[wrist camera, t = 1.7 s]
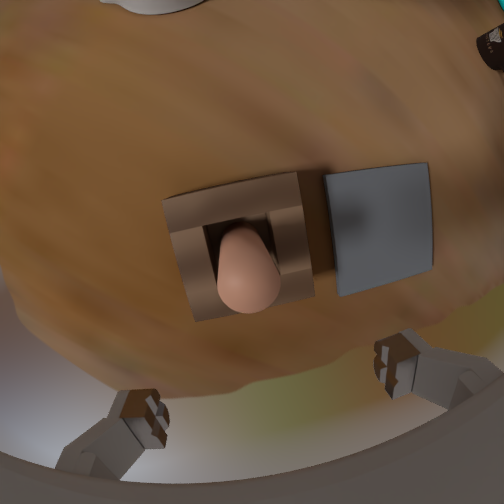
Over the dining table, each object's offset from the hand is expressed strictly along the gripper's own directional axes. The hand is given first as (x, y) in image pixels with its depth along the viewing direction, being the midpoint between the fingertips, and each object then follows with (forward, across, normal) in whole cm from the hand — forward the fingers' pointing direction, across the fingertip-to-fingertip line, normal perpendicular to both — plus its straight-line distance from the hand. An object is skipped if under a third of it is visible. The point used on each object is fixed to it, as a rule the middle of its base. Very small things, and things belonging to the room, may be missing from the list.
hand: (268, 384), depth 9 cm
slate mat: (+22, -17, +2) cm, 28 cm away
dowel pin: (+21, 0, 0) cm, 21 cm away
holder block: (+22, 0, 0) cm, 22 cm away
